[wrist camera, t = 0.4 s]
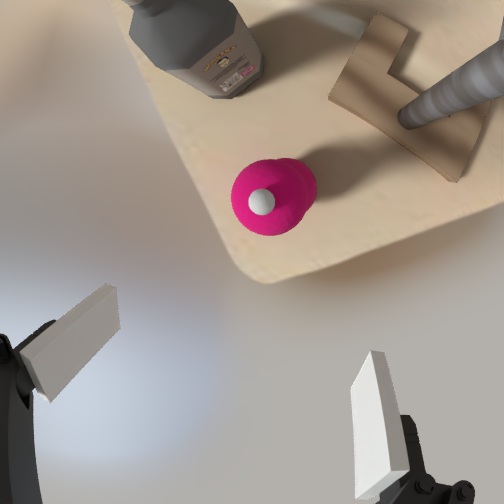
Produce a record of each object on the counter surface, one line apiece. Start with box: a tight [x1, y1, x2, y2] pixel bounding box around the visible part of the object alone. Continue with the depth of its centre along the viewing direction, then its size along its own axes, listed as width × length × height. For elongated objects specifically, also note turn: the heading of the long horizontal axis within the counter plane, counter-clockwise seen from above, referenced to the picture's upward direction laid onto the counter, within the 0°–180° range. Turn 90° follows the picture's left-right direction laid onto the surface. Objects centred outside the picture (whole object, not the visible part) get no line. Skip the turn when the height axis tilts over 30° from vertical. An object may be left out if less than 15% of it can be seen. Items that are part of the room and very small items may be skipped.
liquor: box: [122, 0, 264, 99], centre depth 20 cm, size 9×9×30 cm
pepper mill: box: [231, 158, 317, 236], centre depth 28 cm, size 7×7×20 cm
